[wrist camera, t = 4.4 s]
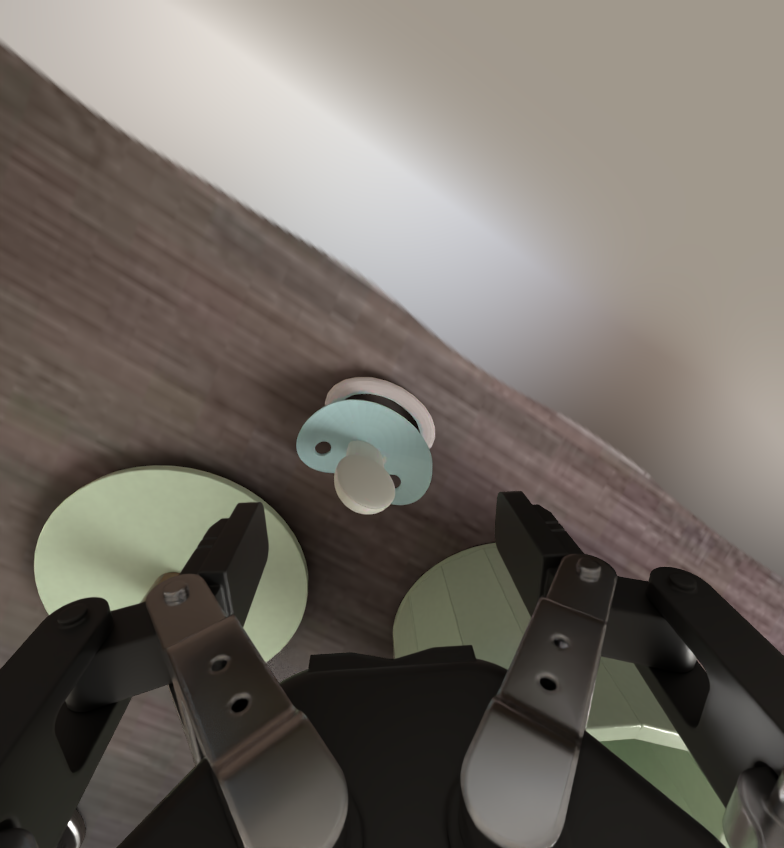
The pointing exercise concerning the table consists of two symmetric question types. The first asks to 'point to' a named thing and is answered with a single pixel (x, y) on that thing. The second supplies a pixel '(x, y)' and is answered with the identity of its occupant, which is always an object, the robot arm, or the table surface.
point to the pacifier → (370, 445)
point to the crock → (498, 641)
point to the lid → (162, 545)
